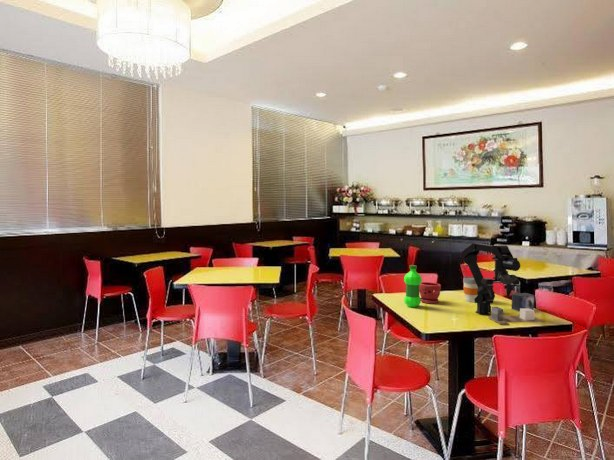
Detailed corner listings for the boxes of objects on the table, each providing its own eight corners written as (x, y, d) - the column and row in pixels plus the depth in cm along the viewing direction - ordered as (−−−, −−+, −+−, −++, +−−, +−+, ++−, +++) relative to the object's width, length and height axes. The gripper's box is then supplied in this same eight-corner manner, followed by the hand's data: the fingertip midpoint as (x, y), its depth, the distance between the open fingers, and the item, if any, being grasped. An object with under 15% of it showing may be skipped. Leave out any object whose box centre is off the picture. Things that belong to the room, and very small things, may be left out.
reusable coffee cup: (479, 299, 268) (480, 276, 268) (486, 303, 256) (486, 280, 255) (460, 298, 270) (460, 276, 269) (465, 303, 257) (466, 279, 256)
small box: (519, 314, 231) (519, 295, 231) (510, 311, 238) (511, 293, 237) (534, 312, 234) (535, 294, 234) (525, 310, 241) (526, 292, 240)
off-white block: (525, 320, 214) (525, 310, 213) (519, 317, 219) (519, 308, 218) (534, 320, 214) (534, 310, 214) (528, 317, 219) (528, 308, 219)
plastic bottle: (401, 307, 245) (402, 266, 244) (406, 303, 255) (407, 264, 253) (418, 309, 241) (419, 267, 239) (422, 305, 250) (423, 265, 249)
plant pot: (436, 305, 251) (436, 286, 250) (415, 302, 259) (416, 283, 258) (443, 301, 261) (443, 283, 260) (423, 298, 269) (423, 280, 268)
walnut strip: (500, 324, 209) (500, 310, 209) (488, 318, 221) (488, 305, 221) (544, 323, 211) (545, 310, 210) (530, 317, 223) (531, 304, 222)
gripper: (491, 270, 210) (490, 300, 211) (526, 270, 212) (525, 300, 212) (481, 267, 221) (480, 296, 222) (513, 267, 223) (513, 295, 224)
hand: (499, 297), depth 220 cm, fingers open, 9 cm apart
